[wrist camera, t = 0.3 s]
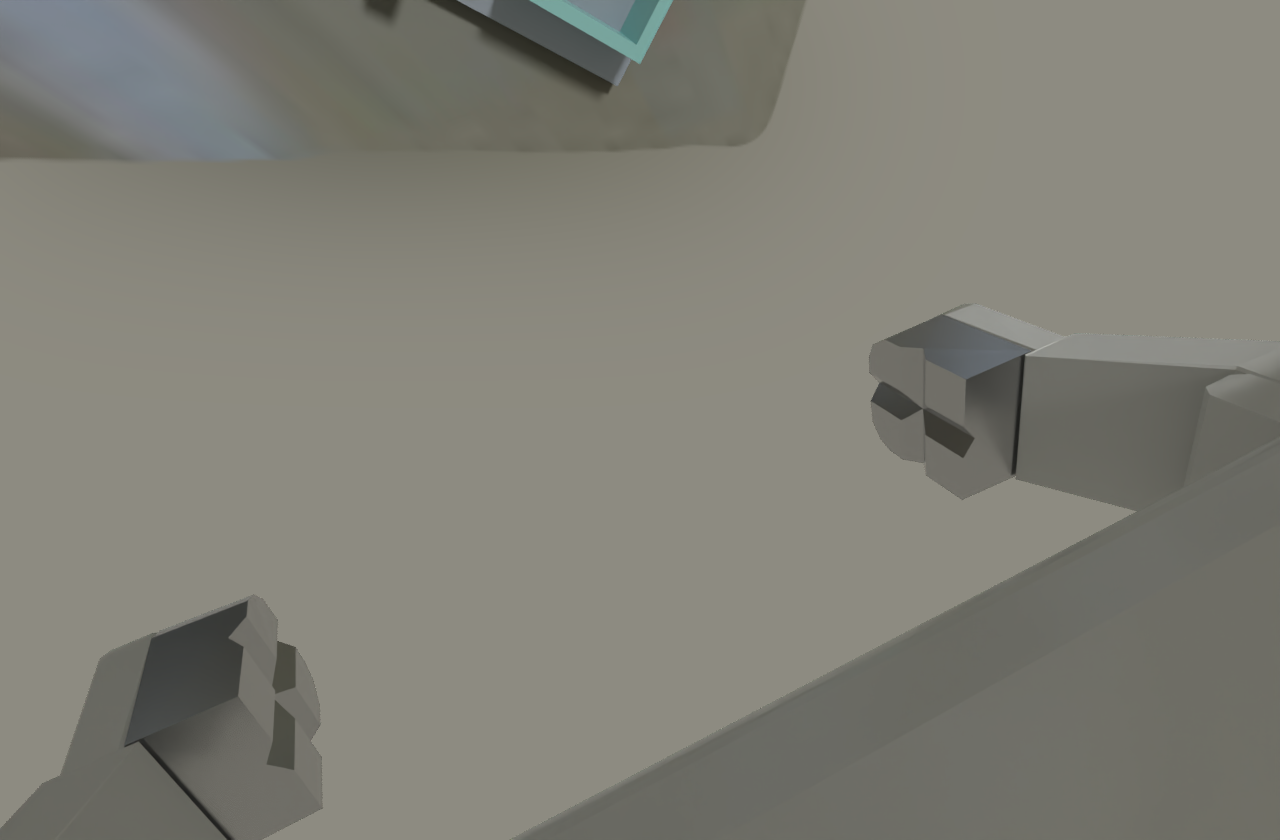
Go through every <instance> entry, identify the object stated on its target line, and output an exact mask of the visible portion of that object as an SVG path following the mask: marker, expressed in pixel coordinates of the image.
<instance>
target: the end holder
mask: <svg viewBox="0 0 1280 840" xmlns="http://www.w3.org/2000/svg"><path fill="white" fill-rule="evenodd" d="M530 1H531V2H533V3H535V4H537V5H538V6H540V7H542V8H544V9H545V10H547V11H549V12H550V13H552V14H554V15H556V16H557V17H559V18H561V19H563V20H564V21H566V22H568V23H570V24H571V25H573V26H575V27H577V28H578V29H580V30H582V31H583V32H585V33H587V34H589V35H590V36H592V37H594V38H596V39H597V40H599V41H601V42H603V43H604V44H606V45H608V46H610V47H611V48H613V49H615V50H617V51H618V52H620V53H622V54H623V55H625V56H627V57H629V58H630V59H632V60H634V61H636V62H637V63H639V64H640V63H641V61H642V59H643V57H644V55H645V53H646V51H647V50H648V48H649V46H650V44H651V42H652V40H653V38H654V36H655V34H656V32H657V30H658V28H659V26H660V24H661V22H662V21H663V19H664V17H665V15H666V13H667V11H668V9H669V7H670V5H671V3H672V1H673V0H635V2H634V4H633V6H632V8H631V10H630V12H629V14H628V16H627V18H626V20H625V22H624V24H623V26H622V28H621V30H620V32H619V31H617V30H616V29H614V28H612V27H611V26H609V25H607V24H606V23H604V22H602V21H601V20H599V19H597V18H596V17H594V16H592V15H591V14H589V13H587V12H586V11H584V10H582V9H581V8H579V7H577V6H576V5H574V4H572V3H571V2H569V1H567V0H530Z"/></svg>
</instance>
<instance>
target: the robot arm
mask: <svg viewBox="0 0 1280 840" xmlns="http://www.w3.org/2000/svg"><path fill="white" fill-rule="evenodd" d="M869 371H870V374H871V375H872V376H873V377H874V378H875V379H876V380H877V381H878V382H879V385H878V387H877V389H876V391H875V393H874V395H873V398H872V400H871V408H872V419H873V423H874V426H875V428H876V430H877V432H878V434H879V437H880V439H881V440H882V441H883V442H884V444H885V445H886V446H887V447H888V448H889V449H890V451H892V452H893V453H895V454H896V455H897V456H899V457H900V458H902V459H903V460H909V461H915V462H921V463H924V468H925V473H926V476H928V477H929V478H931V479H932V480H934V481H935V482H937V483H938V484H940V485H941V486H943V487H944V488H946V489H947V490H948V491H950V492H951V493H953V494H954V495H956V496H957V497H959V498H960V499H962V500H963V499H965V498H967V497H970V496H972V495H974V494H976V493H979V492H981V491H983V490H985V489H987V488H990V487H992V486H994V485H997V484H999V483H1001V482H1003V481H1006V480H1008V479H1010V478H1012V477H1015V476H1016V479H1017V480H1021V481H1025V482H1029V483H1032V484H1036V485H1040V486H1044V487H1048V488H1051V489H1055V490H1059V491H1062V492H1066V493H1070V494H1074V495H1078V496H1081V497H1085V498H1089V499H1093V500H1097V501H1100V502H1104V503H1108V504H1112V505H1115V506H1119V507H1123V508H1127V509H1131V510H1135V511H1137V512H1135V513H1133V514H1131V515H1129V516H1128V517H1126V518H1124V519H1122V520H1120V521H1118V522H1116V523H1114V524H1112V525H1110V526H1109V527H1107V528H1105V529H1103V530H1101V531H1099V532H1097V533H1095V534H1093V535H1091V536H1089V537H1088V538H1086V539H1084V540H1082V541H1080V542H1078V543H1076V544H1074V545H1072V546H1070V547H1068V548H1067V549H1065V550H1063V551H1061V552H1059V553H1057V554H1055V555H1053V556H1051V557H1049V558H1047V559H1045V560H1044V561H1042V562H1039V563H1038V564H1036V565H1034V566H1032V567H1030V568H1028V569H1026V570H1024V571H1022V572H1020V573H1018V574H1017V575H1015V576H1013V577H1011V578H1009V579H1007V580H1005V581H1003V582H1001V583H999V584H997V585H995V586H993V587H991V588H990V589H988V590H986V591H984V592H982V593H980V594H978V595H976V596H974V597H972V598H971V599H969V600H967V601H965V602H963V603H961V604H959V605H957V606H955V607H953V608H951V609H949V610H947V611H945V612H944V613H942V614H940V615H938V616H936V617H934V618H932V619H930V620H929V621H926V622H924V623H922V624H920V625H919V626H917V627H915V628H913V629H911V630H909V631H907V632H905V633H903V634H901V635H899V636H898V637H896V638H894V639H892V640H890V641H888V642H886V643H884V644H882V645H880V646H878V647H877V648H875V649H873V650H871V651H869V652H867V653H865V654H863V655H861V656H859V657H858V658H856V659H854V660H852V661H850V662H848V663H846V664H844V665H842V666H840V667H838V668H836V669H835V670H833V671H831V672H829V673H827V674H825V675H823V676H821V677H819V678H817V679H816V680H813V681H812V682H810V683H808V684H806V685H804V686H802V687H800V688H798V689H796V690H795V691H793V692H791V693H789V694H787V695H785V696H783V697H781V698H779V699H777V700H775V701H774V702H772V703H770V704H768V705H766V706H764V707H762V708H760V709H758V710H756V711H754V712H752V713H751V714H749V715H747V716H745V717H743V718H741V719H739V720H737V721H736V722H733V723H732V724H730V725H728V726H726V727H724V728H722V729H720V730H718V731H716V732H714V733H712V734H710V735H709V736H707V737H705V738H703V739H701V740H699V741H697V742H695V743H693V744H692V745H690V746H688V747H686V748H684V749H682V750H680V751H678V752H676V753H674V754H672V755H670V756H668V757H667V758H665V759H663V760H661V761H659V762H657V763H655V764H653V765H651V766H649V767H648V768H646V769H644V770H642V771H640V772H638V773H636V774H634V775H632V776H631V777H628V778H627V779H625V780H623V781H621V782H619V783H617V784H615V785H613V786H611V787H609V788H607V789H605V790H604V791H602V792H600V793H598V794H596V795H594V796H592V797H590V798H588V799H586V800H584V801H583V802H581V803H579V804H577V805H575V806H573V807H571V808H569V809H567V810H565V811H563V812H562V813H560V814H558V815H556V816H554V817H552V818H550V819H548V820H546V821H544V822H542V823H541V824H539V825H537V826H535V827H533V828H531V829H529V830H527V831H525V832H523V833H522V834H520V835H518V836H516V837H514V838H512V839H510V840H1280V341H1259V340H1233V339H1209V338H1183V337H1182V338H1181V337H1158V336H1157V337H1156V336H1133V335H1106V334H1081V333H1074V334H1072V335H1070V336H1067V337H1064V336H1062V335H1059V334H1056V333H1053V332H1051V331H1048V330H1045V329H1042V328H1040V327H1037V326H1035V325H1032V324H1029V323H1027V322H1024V321H1021V320H1019V319H1016V318H1013V317H1011V316H1008V315H1005V314H1003V313H1000V312H997V311H995V310H992V309H989V308H986V307H984V306H981V305H978V304H963V305H960V306H958V307H956V308H954V309H951V310H949V311H947V312H945V313H943V314H940V315H938V316H936V317H934V318H933V319H930V320H928V321H926V322H923V323H921V324H919V325H916V326H914V327H912V328H910V329H907V330H905V331H903V332H900V333H898V334H896V335H893V336H891V337H889V338H887V339H884V340H882V341H879V342H877V343H875V344H873V346H872V349H871V352H870V355H869ZM277 627H278V620H277V618H276V617H275V615H274V614H273V613H272V611H271V610H270V608H269V607H268V606H267V604H266V603H265V601H264V600H263V599H262V598H260V597H258V596H255V595H251V596H249V597H246V598H244V599H241V600H238V601H236V602H233V603H230V604H228V605H225V606H223V607H220V608H217V609H215V610H212V611H210V612H207V613H204V614H202V615H199V616H197V617H194V618H191V619H189V620H186V621H184V622H181V623H179V624H176V625H173V626H171V627H168V628H166V629H163V630H160V631H159V632H158V633H152V634H149V635H147V636H145V637H142V638H140V639H137V640H135V641H132V642H130V643H128V644H126V645H123V646H120V647H118V648H116V649H113V650H111V651H109V652H108V653H107V654H105V655H104V656H103V657H101V658H100V660H99V662H98V665H97V668H96V671H95V674H94V677H93V680H92V683H91V686H90V688H89V691H88V694H87V697H86V700H85V703H84V706H83V709H82V712H81V715H80V718H79V721H78V724H77V727H76V730H75V733H74V736H73V739H72V742H71V745H70V748H69V750H68V753H67V756H66V760H65V763H64V765H63V768H62V771H61V774H60V776H58V777H56V778H53V779H51V780H49V781H47V782H44V783H42V784H41V786H40V787H39V788H38V789H37V790H36V791H35V792H34V793H33V794H32V795H31V796H30V797H29V798H28V800H27V801H26V802H25V803H24V804H23V805H22V806H21V807H20V808H19V809H18V810H17V811H16V812H15V813H14V814H13V816H12V817H11V818H10V819H9V820H8V821H7V822H6V823H5V824H4V825H3V826H2V827H1V828H0V840H262V839H264V838H265V837H267V836H270V835H272V834H274V833H275V832H277V831H279V830H281V829H283V828H285V827H287V826H289V825H291V824H293V823H295V822H297V821H299V820H301V819H303V818H305V817H307V816H308V815H311V814H312V813H314V812H316V811H318V810H320V809H322V808H323V805H322V757H321V755H320V754H319V752H318V751H317V750H316V748H315V747H314V745H313V744H312V742H311V739H312V738H313V736H314V735H315V733H316V731H317V730H318V728H319V726H320V724H321V723H320V704H319V701H318V696H317V692H316V688H315V685H314V681H313V678H312V676H311V674H310V672H309V670H308V668H307V665H306V663H305V661H304V660H303V658H302V656H301V655H300V653H299V652H298V650H297V649H296V647H294V646H291V645H288V644H285V643H282V642H279V641H277Z"/></svg>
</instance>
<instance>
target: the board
mask: <svg viewBox="0 0 1280 840" xmlns="http://www.w3.org/2000/svg"><path fill="white" fill-rule="evenodd" d="M457 1H459V2H461V3H463V4H465V5H467V6H468V7H470V8H472V9H474V10H476V11H478V12H480V13H482V14H483V15H485V16H487V17H489V18H491V19H493V20H495V21H497V22H498V23H500V24H502V25H504V26H506V27H508V28H510V29H511V30H513V31H515V32H517V33H519V34H521V35H523V36H525V37H526V38H528V39H530V40H532V41H534V42H536V43H538V44H539V45H541V46H543V47H545V48H547V49H549V50H551V51H553V52H554V53H556V54H558V55H560V56H562V57H564V58H566V59H568V60H569V61H571V62H573V63H575V64H577V65H579V66H581V67H582V68H584V69H586V70H588V71H590V72H592V73H594V74H596V75H597V76H599V77H601V78H603V79H605V80H607V81H609V82H611V83H612V84H614V85H616V86H618V84H619V82H620V80H621V79H622V77H623V75H624V73H625V71H626V69H627V67H628V65H629V63H630V61H631V59H630V58H629V57H627V56H625V55H623V54H622V53H620V52H618V51H617V50H615V49H613V48H611V47H610V46H608V45H606V44H604V43H603V42H601V41H599V40H597V39H596V38H594V37H592V36H590V35H589V34H587V33H585V32H583V31H582V30H580V29H578V28H577V27H575V26H573V25H571V24H570V23H568V22H566V21H564V20H563V19H561V18H559V17H557V16H556V15H554V14H552V13H550V12H549V11H547V10H545V9H544V8H542V7H540V6H538V5H537V4H535V3H533V2H531V1H530V0H457ZM567 1H569V2H571V3H572V4H574V5H576V6H577V7H579V8H581V9H582V10H584V11H586V12H587V13H589V14H591V15H592V16H594V17H596V18H597V19H599V20H601V21H602V22H604V23H606V24H607V25H609V26H611V27H612V28H614V29H616V30H617V31H619V32H620V30H621V28H622V26H623V24H624V22H625V20H626V18H627V16H628V14H629V12H630V10H631V8H632V6H633V4H634V2H635V0H567Z"/></svg>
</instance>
